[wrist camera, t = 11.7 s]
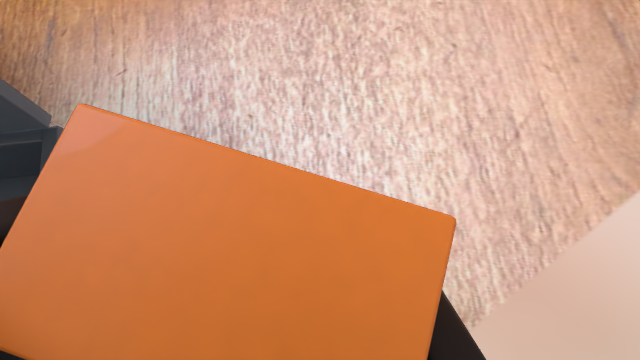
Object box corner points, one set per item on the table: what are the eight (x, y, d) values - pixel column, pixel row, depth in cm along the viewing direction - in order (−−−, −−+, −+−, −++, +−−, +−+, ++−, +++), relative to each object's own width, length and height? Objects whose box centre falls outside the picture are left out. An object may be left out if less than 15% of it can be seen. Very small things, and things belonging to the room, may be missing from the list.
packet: (340, 322, 14) (398, 502, 4) (215, 280, 15) (-50, 334, 4) (361, 246, 15) (460, 216, 5) (242, 208, 16) (76, 99, 5)
